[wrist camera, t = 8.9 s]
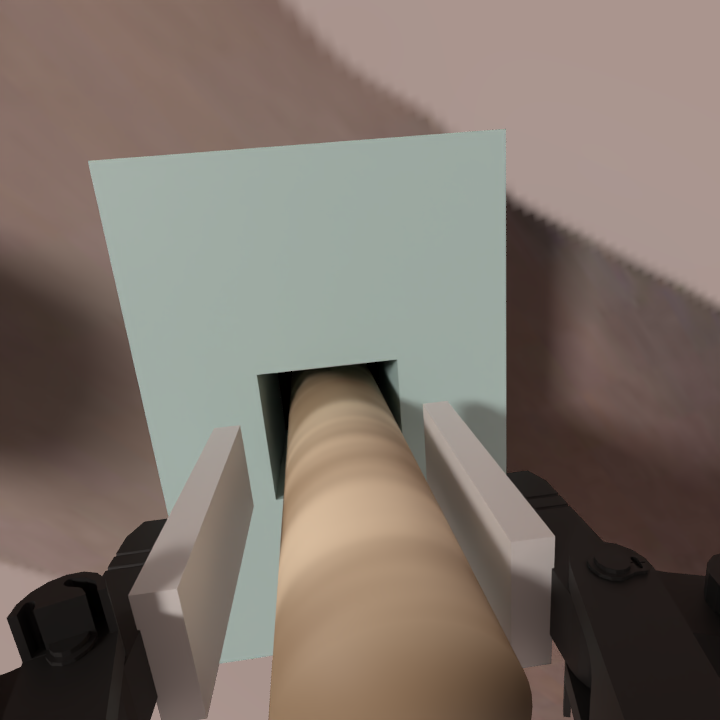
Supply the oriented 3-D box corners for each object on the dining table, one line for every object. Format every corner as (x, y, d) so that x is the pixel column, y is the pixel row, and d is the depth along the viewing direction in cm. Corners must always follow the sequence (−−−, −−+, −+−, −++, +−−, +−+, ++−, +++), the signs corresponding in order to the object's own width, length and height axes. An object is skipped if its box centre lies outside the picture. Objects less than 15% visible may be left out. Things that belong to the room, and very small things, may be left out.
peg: (286, 346, 21) (247, 648, 6) (365, 337, 21) (534, 598, 6) (296, 420, 22) (285, 852, 7) (371, 410, 22) (531, 799, 7)
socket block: (157, 183, 19) (88, 160, 13) (449, 159, 20) (505, 128, 14) (229, 560, 24) (202, 666, 18) (461, 528, 24) (506, 620, 19)
